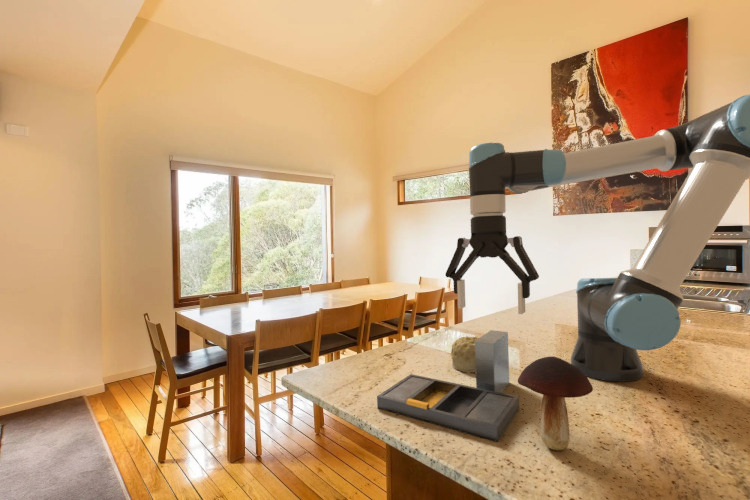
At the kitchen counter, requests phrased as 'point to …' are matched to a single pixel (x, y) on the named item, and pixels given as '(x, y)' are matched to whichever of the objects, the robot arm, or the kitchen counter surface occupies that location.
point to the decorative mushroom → (555, 395)
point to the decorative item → (464, 354)
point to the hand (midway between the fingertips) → (490, 310)
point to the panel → (492, 361)
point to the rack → (451, 405)
